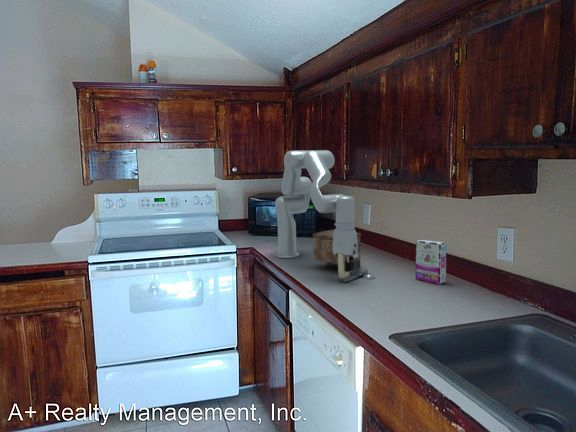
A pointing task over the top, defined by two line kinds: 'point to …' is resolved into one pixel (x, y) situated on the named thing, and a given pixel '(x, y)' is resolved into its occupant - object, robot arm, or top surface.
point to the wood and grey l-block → (345, 275)
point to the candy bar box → (431, 261)
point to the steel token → (369, 276)
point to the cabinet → (330, 249)
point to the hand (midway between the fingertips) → (345, 270)
